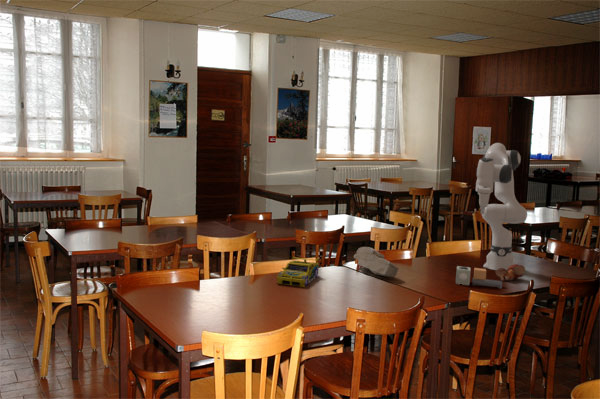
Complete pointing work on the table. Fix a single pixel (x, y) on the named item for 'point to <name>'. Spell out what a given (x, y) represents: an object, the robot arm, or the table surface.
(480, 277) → the carriage
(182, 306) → the table surface
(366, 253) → the stone block
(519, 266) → the figurine
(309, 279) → the toy car
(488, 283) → the rail
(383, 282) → the table surface
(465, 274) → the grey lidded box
